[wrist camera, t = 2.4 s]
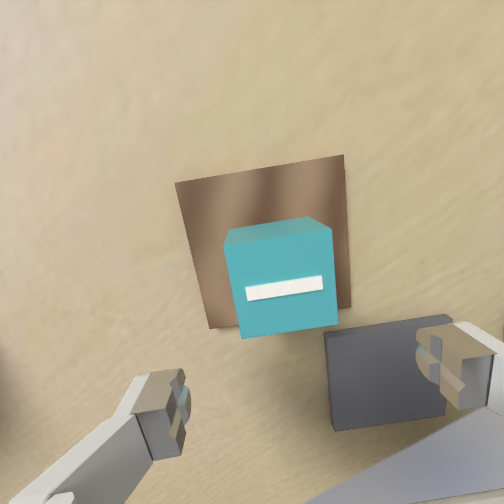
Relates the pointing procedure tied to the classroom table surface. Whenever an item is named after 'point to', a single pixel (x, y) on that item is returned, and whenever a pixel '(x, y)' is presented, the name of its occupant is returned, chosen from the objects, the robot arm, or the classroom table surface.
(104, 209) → the classroom table surface
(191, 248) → the post base
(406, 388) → the mat
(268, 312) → the teal cube
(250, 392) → the classroom table surface
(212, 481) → the classroom table surface
